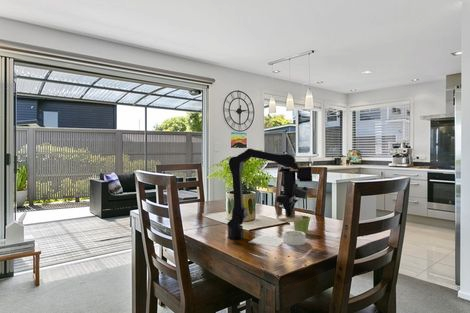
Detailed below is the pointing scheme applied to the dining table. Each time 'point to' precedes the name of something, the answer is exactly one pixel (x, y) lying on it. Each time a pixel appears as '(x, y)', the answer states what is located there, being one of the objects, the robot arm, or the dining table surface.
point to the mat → (267, 240)
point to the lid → (290, 217)
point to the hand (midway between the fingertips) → (290, 215)
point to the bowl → (294, 237)
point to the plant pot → (302, 224)
